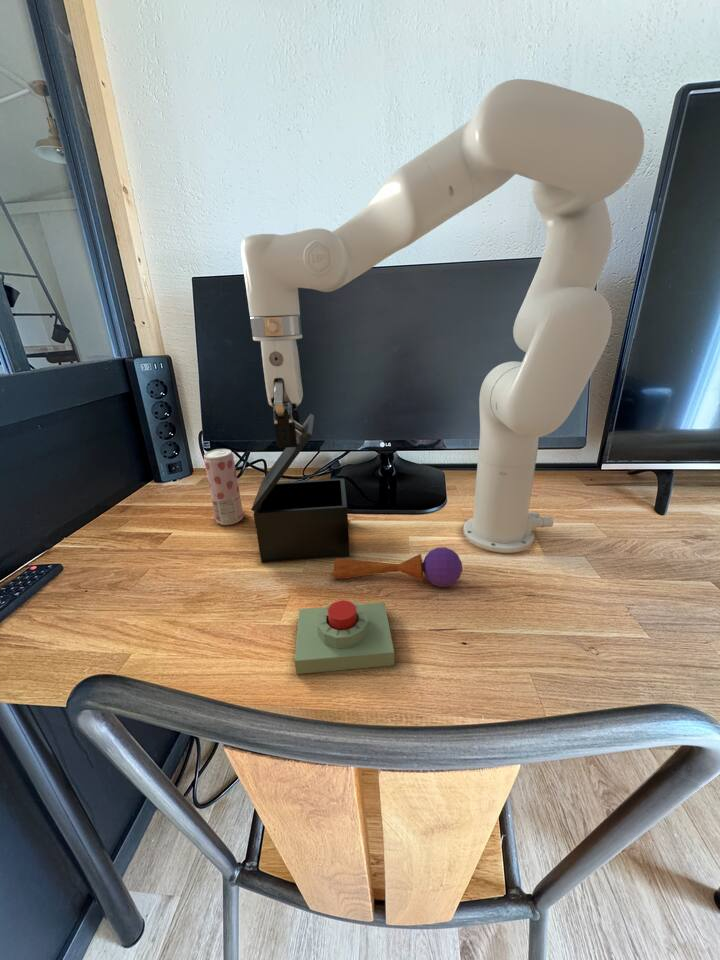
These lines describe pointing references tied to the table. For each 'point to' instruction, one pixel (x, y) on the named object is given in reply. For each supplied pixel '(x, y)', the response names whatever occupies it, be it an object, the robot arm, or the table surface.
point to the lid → (284, 461)
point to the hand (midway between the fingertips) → (289, 438)
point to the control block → (343, 640)
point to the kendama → (408, 567)
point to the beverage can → (223, 486)
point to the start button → (342, 615)
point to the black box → (303, 521)
